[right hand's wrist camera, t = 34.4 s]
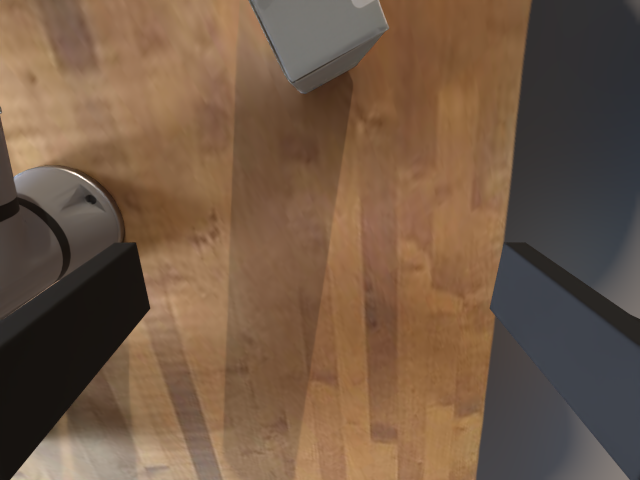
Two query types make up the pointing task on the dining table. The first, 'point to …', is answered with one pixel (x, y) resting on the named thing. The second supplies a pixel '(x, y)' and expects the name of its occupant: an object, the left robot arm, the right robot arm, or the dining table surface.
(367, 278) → the dining table surface
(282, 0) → the hard drive box
